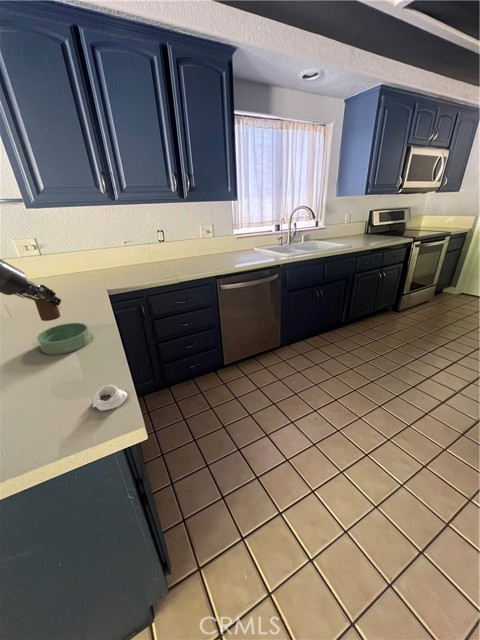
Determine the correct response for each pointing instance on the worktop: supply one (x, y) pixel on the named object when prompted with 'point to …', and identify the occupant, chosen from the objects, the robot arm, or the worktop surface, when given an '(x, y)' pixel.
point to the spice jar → (47, 309)
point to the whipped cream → (113, 401)
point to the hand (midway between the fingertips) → (51, 301)
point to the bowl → (64, 338)
